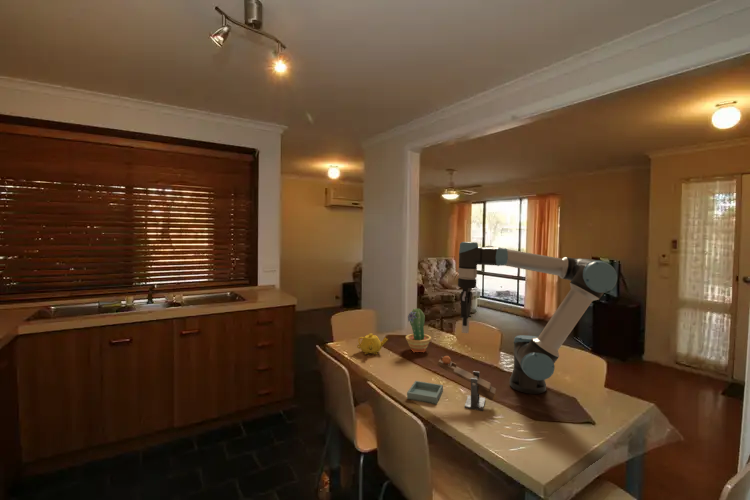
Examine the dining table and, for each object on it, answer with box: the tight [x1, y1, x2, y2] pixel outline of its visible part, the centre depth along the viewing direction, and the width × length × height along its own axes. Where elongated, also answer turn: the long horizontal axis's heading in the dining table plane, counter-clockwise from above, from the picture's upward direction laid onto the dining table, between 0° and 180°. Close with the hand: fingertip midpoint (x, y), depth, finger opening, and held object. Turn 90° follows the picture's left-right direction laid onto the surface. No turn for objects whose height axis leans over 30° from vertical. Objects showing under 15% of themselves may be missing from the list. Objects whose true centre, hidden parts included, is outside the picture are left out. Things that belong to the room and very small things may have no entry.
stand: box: [464, 370, 486, 412], centre depth 142 cm, size 7×10×12 cm
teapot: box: [356, 333, 389, 356], centre depth 204 cm, size 14×14×11 cm
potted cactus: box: [405, 308, 432, 353], centre depth 207 cm, size 15×15×25 cm
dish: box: [406, 380, 444, 405], centre depth 150 cm, size 13×13×3 cm
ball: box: [442, 355, 452, 365], centre depth 146 cm, size 4×4×4 cm
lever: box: [436, 356, 497, 401], centre depth 143 cm, size 24×6×5 cm, turn 68°
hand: (465, 332), depth 149 cm, fingers closed
